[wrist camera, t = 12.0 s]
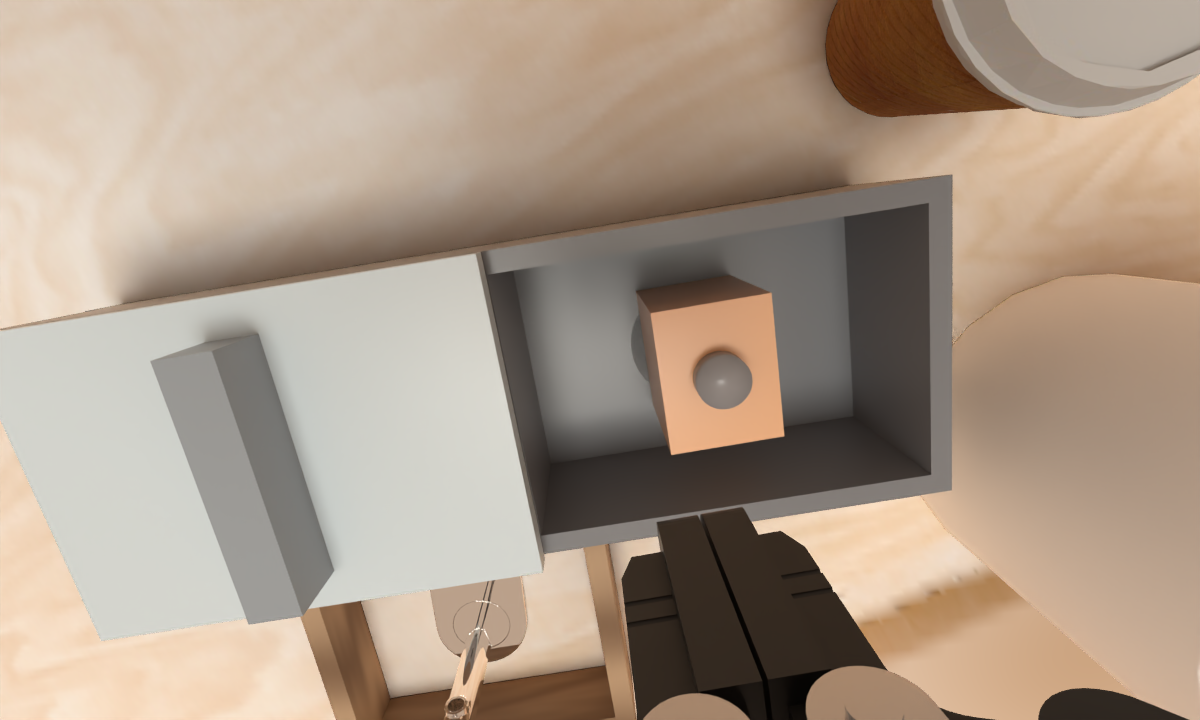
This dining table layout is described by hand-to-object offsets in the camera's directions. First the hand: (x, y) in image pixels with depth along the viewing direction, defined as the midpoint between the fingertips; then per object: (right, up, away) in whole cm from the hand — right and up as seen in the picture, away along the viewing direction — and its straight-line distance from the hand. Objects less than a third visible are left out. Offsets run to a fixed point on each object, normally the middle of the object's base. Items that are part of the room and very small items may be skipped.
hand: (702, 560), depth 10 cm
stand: (-8, -10, +22) cm, 25 cm away
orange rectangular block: (+3, +4, +17) cm, 18 cm away
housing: (-6, +3, +18) cm, 19 cm away
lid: (-13, 0, +11) cm, 17 cm away
